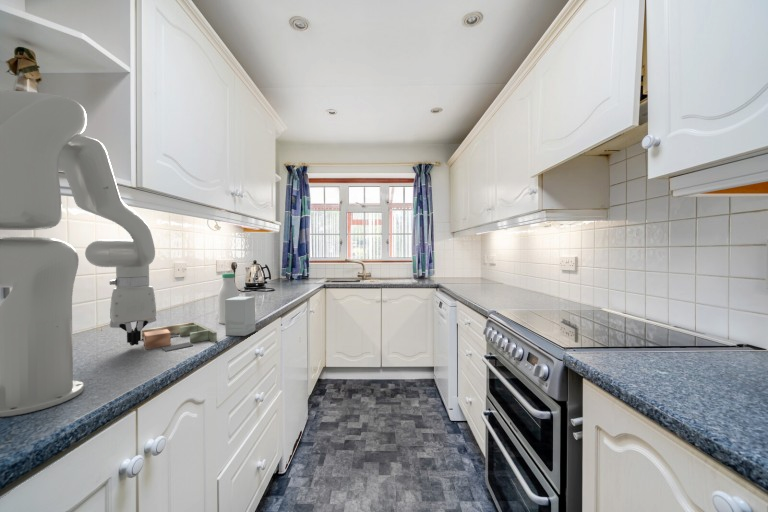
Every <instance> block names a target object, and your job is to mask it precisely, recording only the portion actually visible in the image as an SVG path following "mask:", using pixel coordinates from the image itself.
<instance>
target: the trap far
mask: <svg viewBox="0 0 768 512" xmlns="http://www.w3.org/2000/svg"><path fill="white" fill-rule="evenodd" d="M179 336H180V335H178V334H175V333H174V334H170V339H173V337H174V338H178V337H179Z"/></svg>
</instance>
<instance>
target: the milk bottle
mask: <svg viewBox="0 0 768 512" xmlns="http://www.w3.org/2000/svg"><path fill="white" fill-rule="evenodd" d="M221 276H222V278H221V279H222V284H221V286H220V288H219V290H218V295H217V313H218V314H217V318H218V319H217V321H218V322H217V323H219V324H223V325H225V300H226V299H230V298H233V297H240V292H239V289H238V286H237V285H236V282H235V279H236V275H235V273H233V272H232V273H229V272H227V273H223V274H221Z"/></svg>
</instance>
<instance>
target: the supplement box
mask: <svg viewBox="0 0 768 512" xmlns="http://www.w3.org/2000/svg"><path fill="white" fill-rule="evenodd" d="M224 325H225V336H227V337H228V336H235V337H237V336H239V337H241V336H243V337H246V336H248V335H250V334H252V333H254V332H256V297H255V296H239V297H233V298H230V299H226V300H225V324H224Z"/></svg>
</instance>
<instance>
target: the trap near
mask: <svg viewBox="0 0 768 512" xmlns="http://www.w3.org/2000/svg"><path fill="white" fill-rule="evenodd" d="M191 347H194V345H193V344H192V343H190V341H188V342H182V343H178V344H173V345H167V346H161V349H162V350H163V351H164V352H166V353H167V352H171V351H176V350H177V351H178V350H181V349H185V348H191Z"/></svg>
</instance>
